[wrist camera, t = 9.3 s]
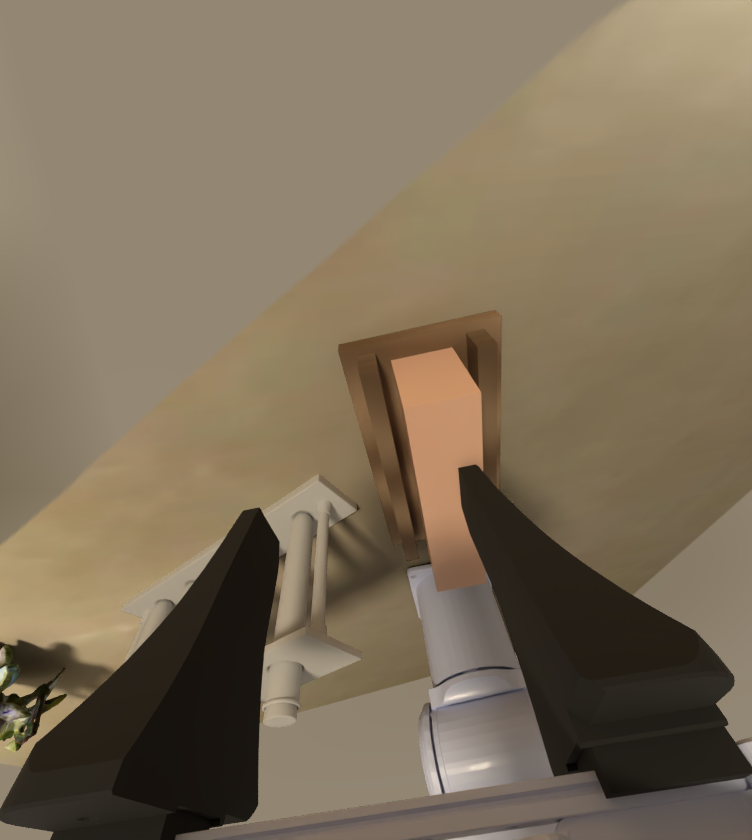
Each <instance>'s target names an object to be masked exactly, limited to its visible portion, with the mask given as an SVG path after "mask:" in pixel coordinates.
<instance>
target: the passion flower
mask: <svg viewBox="0 0 752 840" xmlns="http://www.w3.org/2000/svg"><path fill="white" fill-rule="evenodd" d="M12 657H13V651H12V650H11V649H10V647H9V645H7V644H6V645H4V646H3V647H2V648H1V650H0V740H2V739H3V741H5V740H6V739H7V738H11V737H12V736H13V734H14V737H15V740H14V741H12V742H10V743H9V744H8V745H7V746H6V747H5V749H8V750H13V752H15V751H17V750H19V749H20V747H21V745H22V744H24V743H25V742H27V741H28V739H29V738H31V737H32V736H34V735H36V733H37V730H38V727H39V722H40V717H41V714H43V713H44V712H46V711H48V710H50V709H51V708H52V707H54V706H56V705H58V704H59V703H60V702H61V701H62V700H63V699H64V698H65V697H66V696H67V695H66V694H64V695H60V696H58V697H55V698H52V699H50V700H46V698H47V697H48V696H49V694H50V692H51V691H52V689H53V688H54V687H55V685H56V684H57V682H58V680H59V678H60V677H61V675H62V673H63V672H64V670H65V669H66V668H64V669H63V670H62V671H61V672H60V673H59V674H58V675H57V676H56V677H55V679H54V680H53V681H52V680H51V681H50V682H48V683H47V684H43V685H41V686H39V687H38V688H37V689H36V690H35V691H34V692H33V693H31V694H29V695H26V696H23V697H21V698H20V697H19V696H18V695H17V694H11V695H9V696H5V695H4V694H3V693H2V691H4V690H5V689H6V688H7V687H9V686H11V685H12V684H13V683H14V682H15V680H16V679H17V678H18V677H19V674H20V667H19V665H18V664H17V663H16V664H11V663H12ZM36 698H37V701H36V704H35V705H34V706H32V707H30V708H27V707H26V705H27V704H29V703H30V702H31V701H32V700H34V699H36ZM35 718H36V719H35ZM34 719H35V722H34ZM26 726H27V729H26V730H25V731H24V729H25V727H26Z"/></svg>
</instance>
